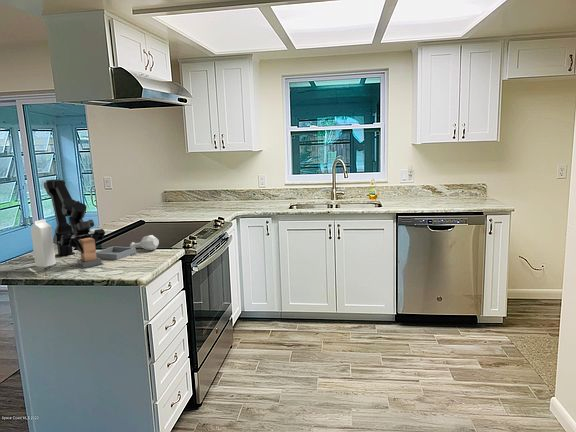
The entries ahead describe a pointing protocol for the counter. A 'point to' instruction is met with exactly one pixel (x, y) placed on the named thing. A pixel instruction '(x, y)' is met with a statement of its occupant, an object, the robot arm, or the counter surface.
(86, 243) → the block
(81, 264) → the grey square base plate
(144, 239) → the chicken leg
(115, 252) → the tray
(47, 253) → the milk
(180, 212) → the counter surface
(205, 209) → the counter surface
